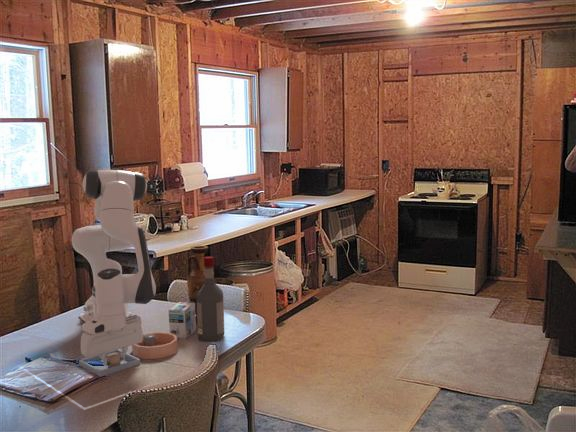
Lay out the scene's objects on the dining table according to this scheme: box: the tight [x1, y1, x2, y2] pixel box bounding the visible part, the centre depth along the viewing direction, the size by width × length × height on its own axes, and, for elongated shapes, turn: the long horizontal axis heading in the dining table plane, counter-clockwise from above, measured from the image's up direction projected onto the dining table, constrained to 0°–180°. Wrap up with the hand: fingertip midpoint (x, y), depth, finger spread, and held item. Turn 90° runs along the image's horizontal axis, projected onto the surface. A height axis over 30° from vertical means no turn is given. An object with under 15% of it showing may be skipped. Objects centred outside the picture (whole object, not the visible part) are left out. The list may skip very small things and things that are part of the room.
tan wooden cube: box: [107, 353, 121, 368], centre depth 192 cm, size 4×4×4 cm
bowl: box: [131, 331, 178, 360], centre depth 206 cm, size 15×15×4 cm
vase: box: [185, 245, 209, 325], centre depth 237 cm, size 11×11×30 cm
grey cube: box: [144, 334, 156, 347], centre depth 208 cm, size 4×4×4 cm
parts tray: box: [78, 349, 141, 378], centre depth 194 cm, size 14×14×2 cm
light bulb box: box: [168, 301, 197, 339], centre depth 224 cm, size 11×7×11 cm, turn 168°
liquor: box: [196, 255, 225, 343], centre depth 217 cm, size 9×9×30 cm
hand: (114, 362), depth 192 cm, fingers closed on tan wooden cube, 4 cm apart
